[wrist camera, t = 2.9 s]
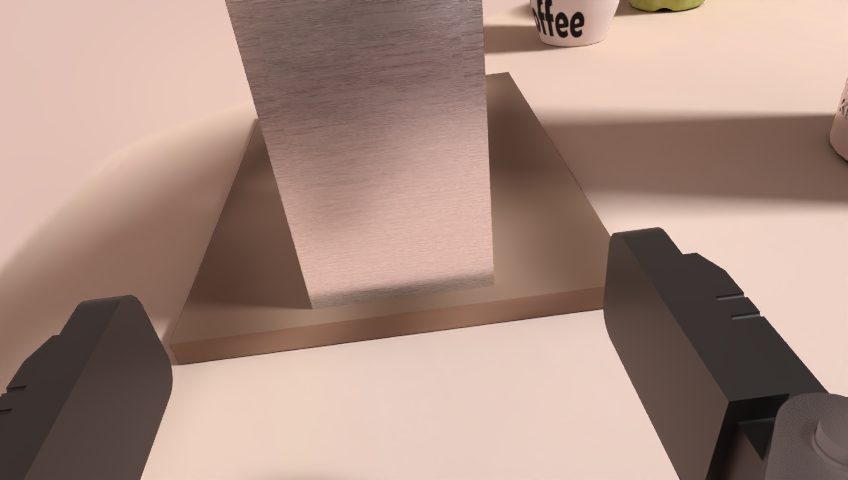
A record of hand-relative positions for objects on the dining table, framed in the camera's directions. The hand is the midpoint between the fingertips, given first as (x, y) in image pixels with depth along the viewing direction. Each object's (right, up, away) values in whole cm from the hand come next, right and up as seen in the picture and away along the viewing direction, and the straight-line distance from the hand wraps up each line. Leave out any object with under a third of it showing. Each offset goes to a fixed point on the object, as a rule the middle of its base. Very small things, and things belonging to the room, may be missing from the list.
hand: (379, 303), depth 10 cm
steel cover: (0, +1, +13) cm, 13 cm away
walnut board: (-1, +4, +19) cm, 20 cm away
